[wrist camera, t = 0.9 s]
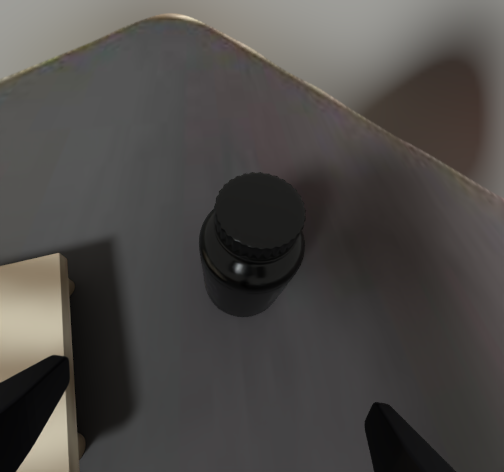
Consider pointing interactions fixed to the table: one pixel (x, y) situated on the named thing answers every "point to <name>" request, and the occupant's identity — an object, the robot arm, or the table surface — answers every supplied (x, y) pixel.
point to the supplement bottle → (252, 243)
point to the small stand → (41, 350)
